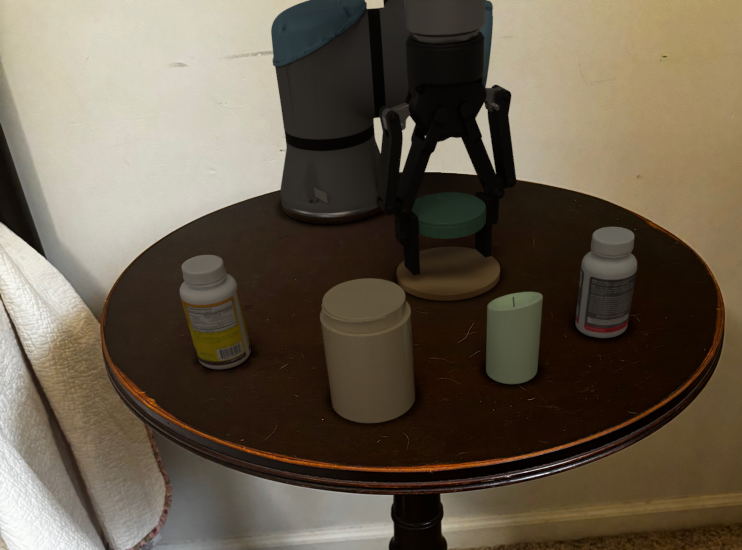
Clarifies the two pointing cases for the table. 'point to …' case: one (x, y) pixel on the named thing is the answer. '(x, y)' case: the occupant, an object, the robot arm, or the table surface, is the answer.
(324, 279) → the table surface
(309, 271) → the table surface
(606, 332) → the pill bottle
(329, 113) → the robot arm
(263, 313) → the table surface
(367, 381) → the jar
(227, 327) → the supplement bottle
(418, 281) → the coaster
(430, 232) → the lid
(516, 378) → the candle
